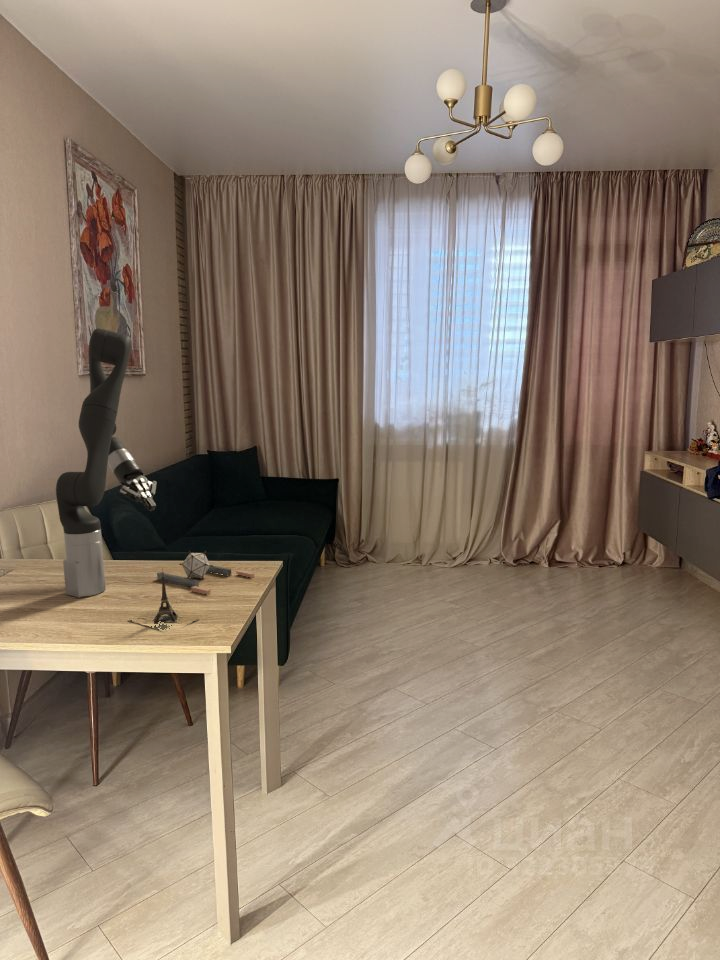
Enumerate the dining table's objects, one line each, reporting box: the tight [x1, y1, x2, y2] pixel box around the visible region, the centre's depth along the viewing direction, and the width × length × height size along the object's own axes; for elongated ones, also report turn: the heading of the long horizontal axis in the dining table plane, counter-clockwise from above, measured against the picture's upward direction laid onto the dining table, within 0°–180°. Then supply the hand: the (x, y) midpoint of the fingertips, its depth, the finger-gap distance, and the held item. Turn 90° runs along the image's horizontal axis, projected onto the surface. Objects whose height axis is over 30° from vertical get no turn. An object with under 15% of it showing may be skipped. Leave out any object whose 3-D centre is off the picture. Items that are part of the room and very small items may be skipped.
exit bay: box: [190, 569, 255, 595], centre depth 177 cm, size 18×6×1 cm, turn 147°
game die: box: [178, 550, 214, 580], centre depth 183 cm, size 9×8×10 cm
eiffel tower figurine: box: [127, 567, 179, 631], centre depth 150 cm, size 15×10×13 cm
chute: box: [156, 565, 232, 588], centre depth 184 cm, size 14×16×2 cm
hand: (153, 509), depth 190 cm, fingers closed
